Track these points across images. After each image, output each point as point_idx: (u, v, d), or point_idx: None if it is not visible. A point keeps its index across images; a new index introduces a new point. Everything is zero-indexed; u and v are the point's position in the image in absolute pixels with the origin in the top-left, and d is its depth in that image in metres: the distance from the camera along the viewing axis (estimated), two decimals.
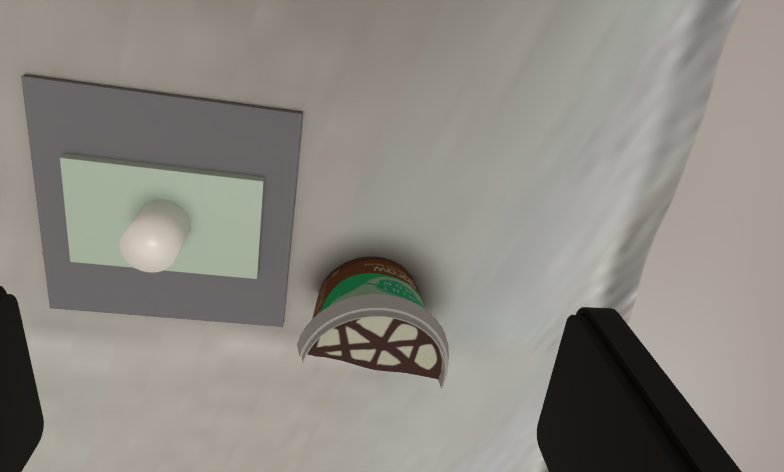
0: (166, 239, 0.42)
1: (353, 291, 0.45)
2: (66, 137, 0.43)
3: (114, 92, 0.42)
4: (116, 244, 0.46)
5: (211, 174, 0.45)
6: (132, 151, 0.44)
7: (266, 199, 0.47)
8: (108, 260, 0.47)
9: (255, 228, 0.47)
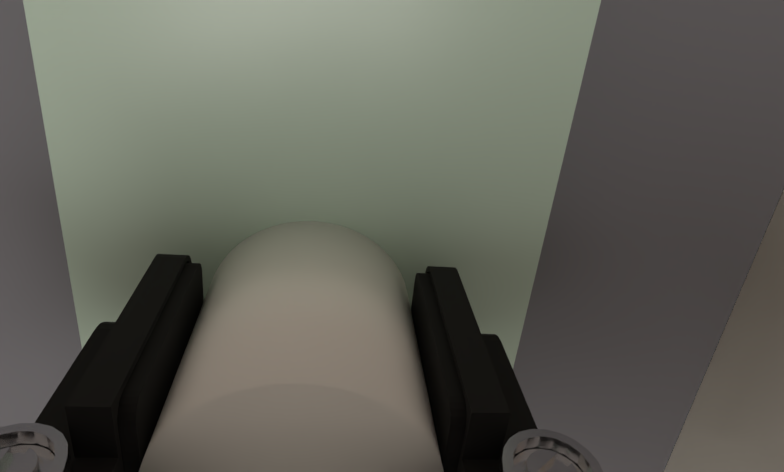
0: None
1: None
2: None
3: None
4: (170, 115, 0.10)
5: None
6: (572, 190, 0.12)
7: None
8: (64, 63, 0.09)
9: None
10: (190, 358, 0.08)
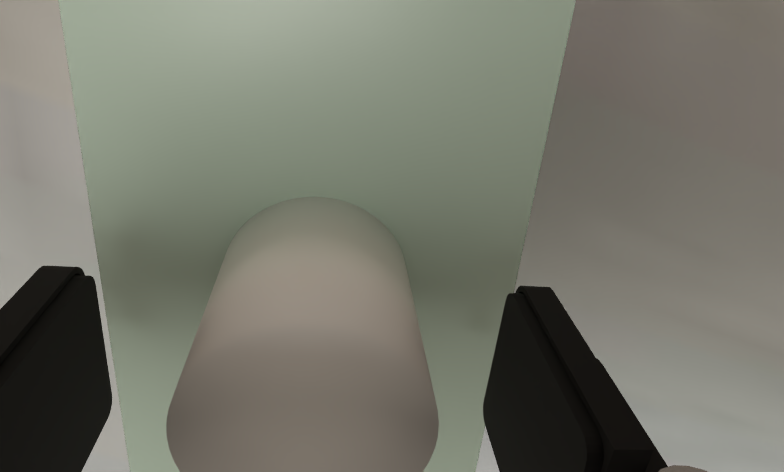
0: None
1: None
2: None
3: None
4: (188, 99, 0.11)
5: None
6: None
7: None
8: (93, 53, 0.10)
9: None
10: (211, 312, 0.09)
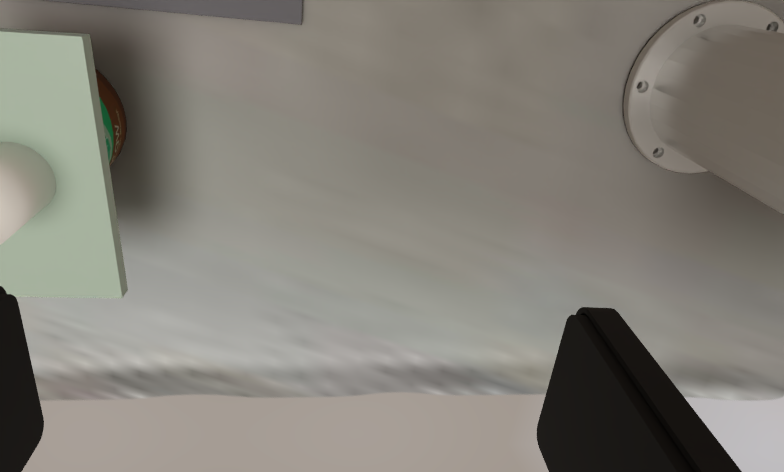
0: None
1: None
2: None
3: None
4: None
5: (114, 237, 0.33)
6: None
7: None
8: None
9: (47, 291, 0.34)
10: None
